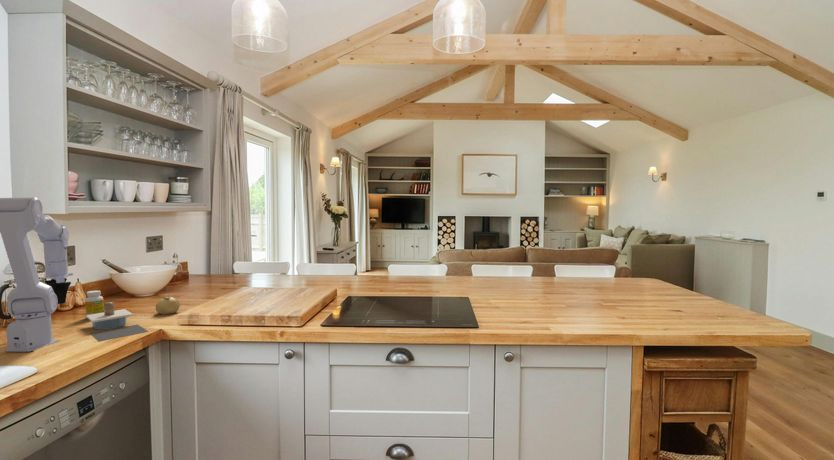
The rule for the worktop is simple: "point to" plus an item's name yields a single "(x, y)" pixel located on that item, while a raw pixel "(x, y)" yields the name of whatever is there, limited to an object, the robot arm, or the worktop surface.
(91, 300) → the supplement bottle
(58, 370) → the worktop surface
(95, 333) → the mat
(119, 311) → the cover
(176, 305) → the onion
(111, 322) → the bowl
